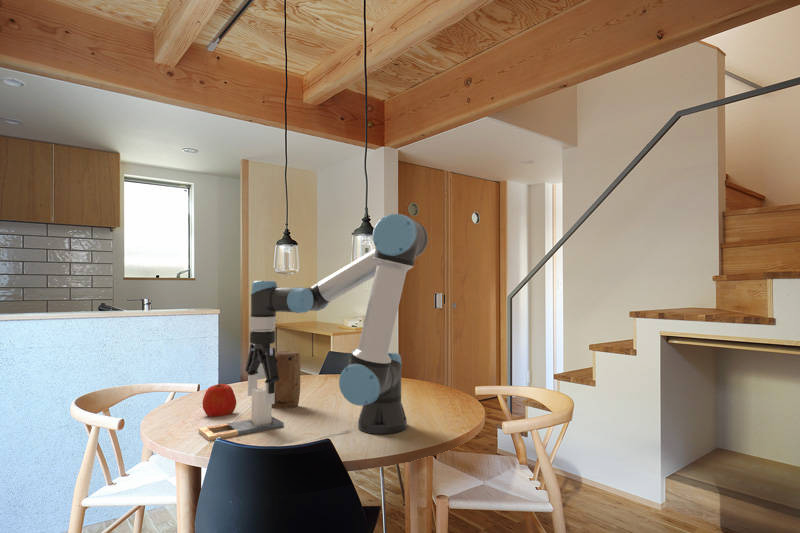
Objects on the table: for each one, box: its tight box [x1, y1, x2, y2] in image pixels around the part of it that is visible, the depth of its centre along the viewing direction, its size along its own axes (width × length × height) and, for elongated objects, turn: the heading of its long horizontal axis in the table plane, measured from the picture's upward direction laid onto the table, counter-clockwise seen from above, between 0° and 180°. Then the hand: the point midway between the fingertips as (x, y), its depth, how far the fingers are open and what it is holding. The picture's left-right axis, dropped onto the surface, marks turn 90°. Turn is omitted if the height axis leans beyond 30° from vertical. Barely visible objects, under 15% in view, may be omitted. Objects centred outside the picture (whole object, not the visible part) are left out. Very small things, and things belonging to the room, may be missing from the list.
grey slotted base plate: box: [198, 415, 285, 442], centre depth 140 cm, size 10×22×2 cm, turn 129°
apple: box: [202, 383, 237, 418], centre depth 159 cm, size 11×11×11 cm
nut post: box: [251, 387, 273, 426], centre depth 144 cm, size 4×4×11 cm
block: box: [272, 350, 301, 409], centre depth 170 cm, size 11×8×20 cm
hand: (260, 399), depth 144 cm, fingers open, 13 cm apart
